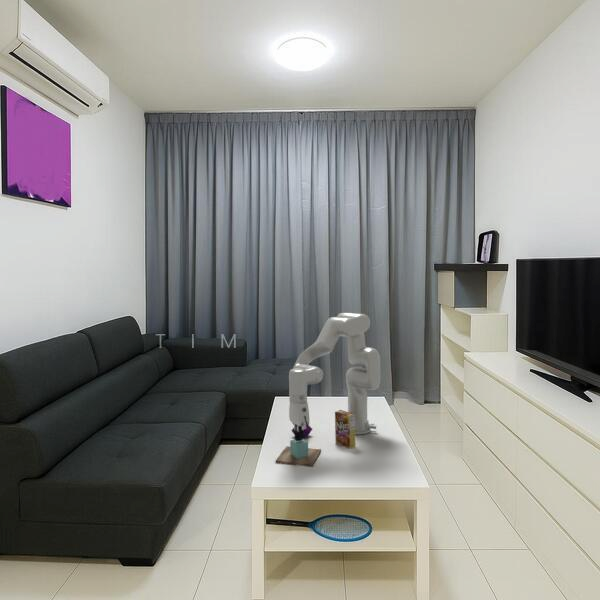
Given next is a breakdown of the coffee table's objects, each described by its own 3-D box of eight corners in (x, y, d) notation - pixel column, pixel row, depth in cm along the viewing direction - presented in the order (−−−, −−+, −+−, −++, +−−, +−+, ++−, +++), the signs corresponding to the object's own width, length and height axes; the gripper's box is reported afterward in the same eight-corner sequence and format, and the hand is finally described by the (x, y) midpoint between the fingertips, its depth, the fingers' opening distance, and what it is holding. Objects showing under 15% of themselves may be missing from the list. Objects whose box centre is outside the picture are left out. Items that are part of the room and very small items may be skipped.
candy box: (334, 443, 212) (334, 411, 211) (340, 441, 215) (340, 409, 214) (349, 448, 206) (349, 415, 205) (355, 446, 209) (355, 413, 208)
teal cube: (301, 451, 201) (301, 437, 201) (308, 455, 196) (308, 441, 196) (290, 453, 198) (290, 439, 198) (296, 458, 194) (296, 443, 193)
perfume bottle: (312, 435, 223) (312, 399, 221) (304, 440, 217) (303, 402, 215) (300, 432, 227) (299, 396, 226) (291, 437, 221) (290, 400, 220)
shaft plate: (321, 451, 203) (321, 441, 203) (312, 466, 188) (312, 456, 187) (286, 448, 207) (286, 438, 207) (275, 463, 192) (275, 452, 191)
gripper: (315, 400, 191) (315, 443, 192) (297, 392, 204) (297, 432, 205) (299, 403, 187) (300, 447, 189) (282, 395, 200) (283, 436, 202)
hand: (299, 439), depth 197 cm, fingers closed
